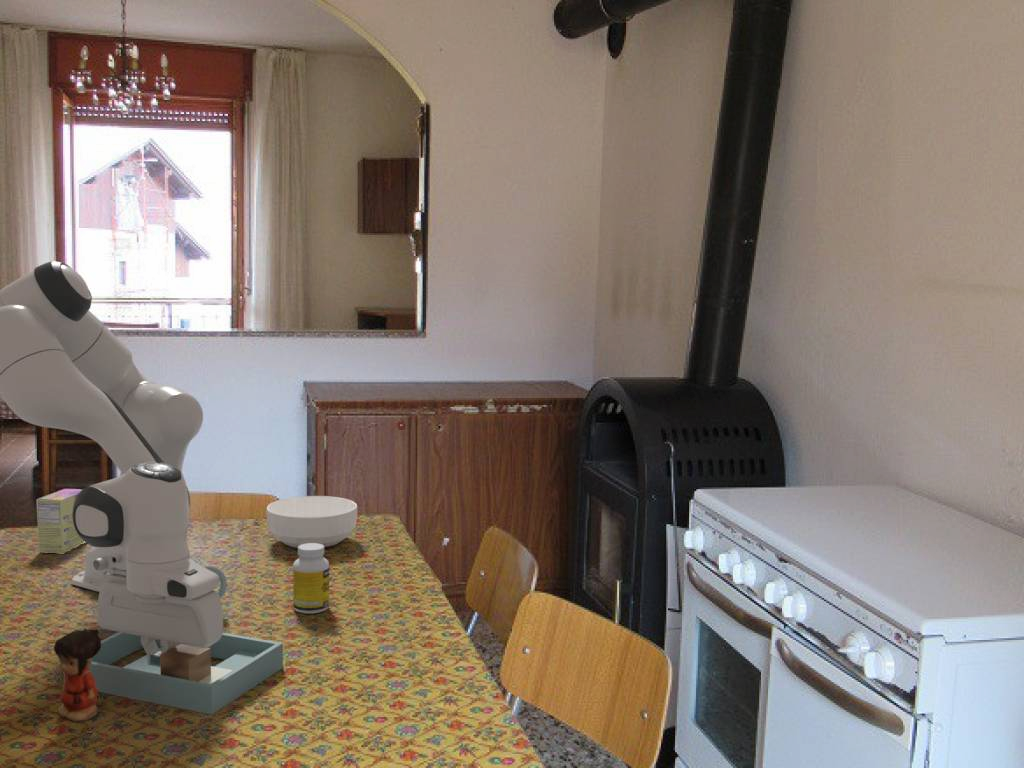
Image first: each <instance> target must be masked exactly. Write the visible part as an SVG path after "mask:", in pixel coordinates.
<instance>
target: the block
mask: <svg viewBox="0 0 1024 768" xmlns="http://www.w3.org/2000/svg"><path fill="white" fill-rule="evenodd" d="M160 662H161V675H164V676H170V677H175V678H180V679H185V680H190V681H196V682H198V681H200V680H202V679H203V678H205V677H207V676H208V675H210V674H211V666H212V657H211V648H201V647H196V646H191V645H185V644H180V645H178V646H176V647H174V648H172V649H170V650H169V651H167V652H165V653H163V654H161V655H160Z"/></svg>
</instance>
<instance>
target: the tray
mask: <svg viewBox="0 0 1024 768" xmlns="http://www.w3.org/2000/svg"><path fill="white" fill-rule="evenodd" d="M155 641H156V644H157V646H158V649H159V651H162V650H163V648H164V646H161V644H160V640H159V639H156V640H155ZM178 645H180V643H177V645H176V646H178ZM176 646H175V647H176ZM207 648H211V658H215V659H221V660H223V661H221V662H219V663H217V664H216V665H215V666H212V665H211V674H210V675H208V676H207V677H205V678H203V679H202V680H200V681H198V682H196V681H190V680H185V679H180V678H175V677H170V676H164V675H161V667H157V666H151V665H148V654H146V655H144V656H141V657H140V658H138V659H137V660H134V661H132V662H131V663H129V664H126V665H124V666H123V667H122V666H119V665H118V666H117V665H111V664H113V663H115V662H117V661H119V660H121V659H122V658H125V657H127V656H129V655H130V654H133V653H135V652H137V651H139V650H140V649H144V648H143V646H142V644H141V636H138V635H132V634H127V633H122V632H115V633H114V634H111V635H110V636H108V637H106V638H104V639H102V640H101V648H100V650H99V652H98V653H97V654H96V655H95V656H94V657H92V658H91V659H92V662H91V664H90V665H89V666H88V668H89V670H90V673H91V674H92V676H93V678H94V679H95V685H96V686H97V689H98V692H99V693H103V694H104V693H105V694H109V695H113V696H119V697H123V698H128V699H133V700H136V701H137V700H139V701H141V702H142V701H143V702H146V703H147V702H148V703H152V704H157V705H161V706H162V705H163V706H167V707H172V708H177V709H181V710H185V711H191V712H196V713H201V714H205V715H206V714H207V715H211V716H213V715H214V714H215V713H217V712H218V711H220V710H221V709H223V708H225V707H227V705H229V704H230V703H232V702H233V701H235V700H237V699H239V698H240V697H241V696H242V695H245V693H247V692H249V691H250V690H252V689H253V688H254V687H256V686H258V685H259V684H261V683H262V682H264V681H265V680H267V679H268V678H269V677H271V676H273V675H274V674H276V673H278V672H279V671H280V670H282V669H283V668H284V643H283V642H280V641H273V640H267V639H261V638H255V637H251V636H246V635H245V636H244V635H238V634H232V633H228V632H226V633H225V632H223V634H222V637H221V638H220V639H219V641H218V642H216V643H214V644H213V645H211V646H209V647H207ZM64 677H65V673H63V683H64V684H65V678H64ZM64 684H63V685H64Z"/></svg>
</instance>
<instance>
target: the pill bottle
mask: <svg viewBox="0 0 1024 768" xmlns="http://www.w3.org/2000/svg"><path fill="white" fill-rule="evenodd" d="M324 555H325V547H324V545H322V544H318V543H306V544H302V545H299V546H298V548H297V556H299V558H297V559H295V561H294V562H293V564H292V586H293V587H292V595H293V596H292V597H293V598H292V601H293V602H292V604H293V605H292V607H293V609H294V611H296V612H297V613H301V614H309V615H310V614H319V613H322V612H324V611H326V610H328V609H329V607H330V563H329V561H328V559H327V558H325V557H324Z"/></svg>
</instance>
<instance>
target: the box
mask: <svg viewBox="0 0 1024 768" xmlns="http://www.w3.org/2000/svg"><path fill="white" fill-rule="evenodd" d="M81 490H83V488H82V489H80V488H78V489H77V488H63V489H61V490H60V489H59V490H58V491H55V492H53V493H50V494H47V495H44V496H42V497H39V498H36V518H37V519H36V520H37V538H38V540H37V542H38V553H39V552H49V553H65V552H66V551H68V550H70V549H71V548H73V547H75V546H77V545H79V544H80V543H83V542H84V541H83V540H82V539H81V538H80V536H79V535H78V533H77V532H76V530H75V527H74V523H73V516H72V512H73V505H74V502H75V499H76V497H77V496H78V494H79V493H80V491H81ZM70 551H71V550H70ZM65 554H66V553H65Z"/></svg>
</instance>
